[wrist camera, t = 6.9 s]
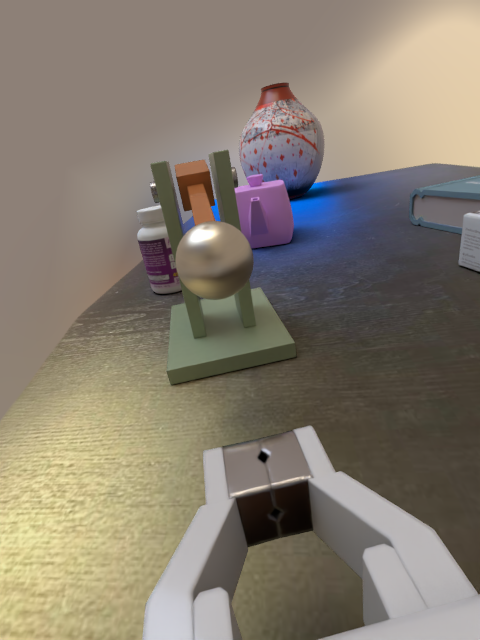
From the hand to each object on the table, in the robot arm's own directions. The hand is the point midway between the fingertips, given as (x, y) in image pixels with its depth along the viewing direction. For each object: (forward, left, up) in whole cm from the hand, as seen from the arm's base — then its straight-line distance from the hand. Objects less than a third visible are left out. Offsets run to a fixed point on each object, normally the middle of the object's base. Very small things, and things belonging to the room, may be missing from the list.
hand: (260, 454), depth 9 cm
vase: (+27, +98, -6) cm, 101 cm away
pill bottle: (-5, +35, -6) cm, 36 cm away
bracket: (0, +20, -6) cm, 20 cm away
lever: (0, +14, +3) cm, 15 cm away
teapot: (+10, +50, -6) cm, 52 cm away
